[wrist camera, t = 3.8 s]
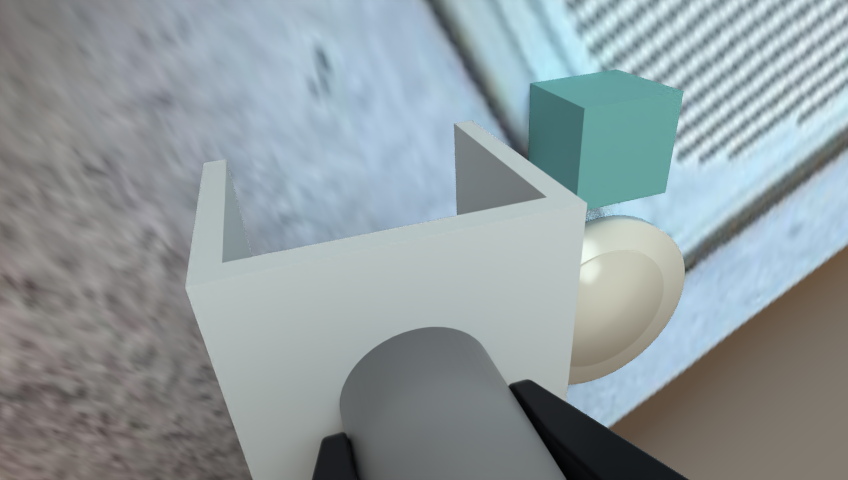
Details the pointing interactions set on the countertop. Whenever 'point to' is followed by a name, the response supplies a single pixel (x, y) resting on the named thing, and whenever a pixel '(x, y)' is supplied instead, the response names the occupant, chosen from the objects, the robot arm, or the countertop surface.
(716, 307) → the countertop surface
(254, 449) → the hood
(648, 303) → the saucer
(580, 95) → the block
